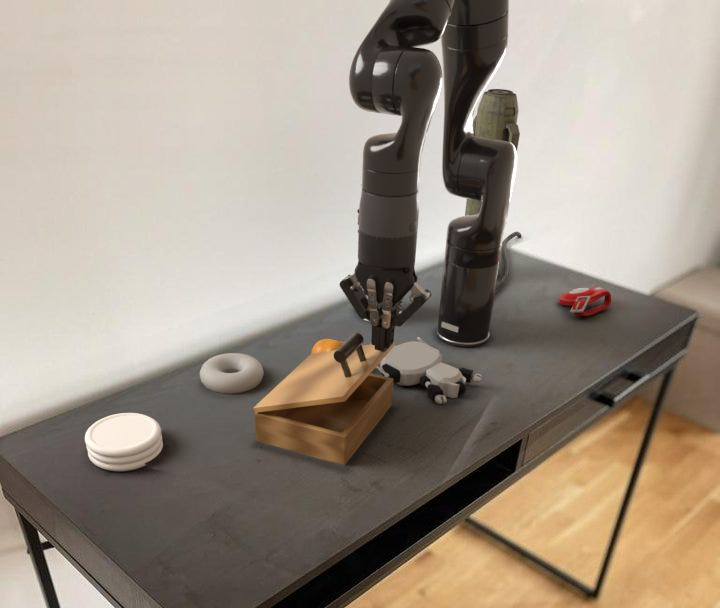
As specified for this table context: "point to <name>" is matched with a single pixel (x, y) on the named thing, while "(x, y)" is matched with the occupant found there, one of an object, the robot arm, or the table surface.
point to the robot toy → (426, 370)
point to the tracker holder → (585, 300)
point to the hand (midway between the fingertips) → (381, 348)
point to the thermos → (495, 127)
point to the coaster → (123, 441)
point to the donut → (231, 373)
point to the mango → (326, 345)
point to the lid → (325, 377)
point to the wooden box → (328, 422)
